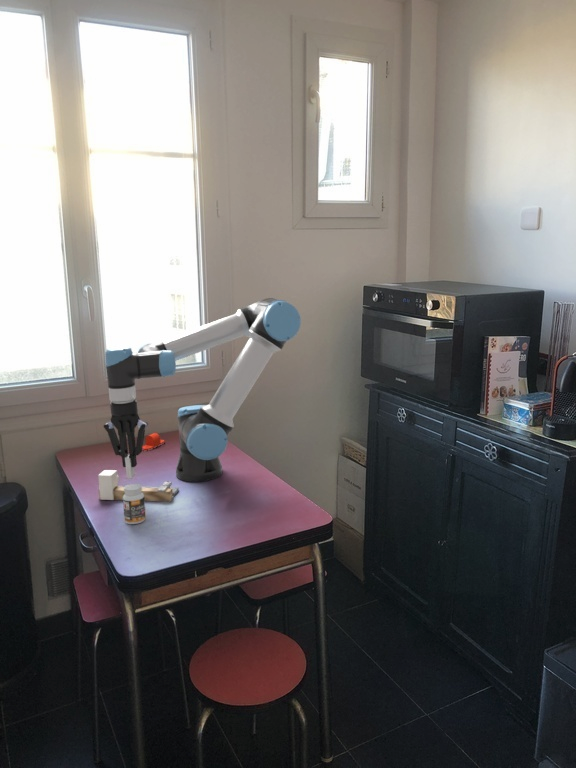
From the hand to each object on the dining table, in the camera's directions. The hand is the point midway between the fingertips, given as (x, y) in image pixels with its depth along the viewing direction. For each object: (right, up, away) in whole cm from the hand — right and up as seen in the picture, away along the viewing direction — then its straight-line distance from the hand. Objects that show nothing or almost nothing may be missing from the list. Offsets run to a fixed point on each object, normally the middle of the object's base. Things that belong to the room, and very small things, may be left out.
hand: (131, 476), depth 186 cm
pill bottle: (+5, -10, -14) cm, 18 cm away
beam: (+1, -7, +1) cm, 7 cm away
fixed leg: (+10, -5, +2) cm, 11 cm away
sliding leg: (-7, -6, +4) cm, 10 cm away
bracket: (-4, +4, +51) cm, 51 cm away
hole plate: (+2, -6, +6) cm, 8 cm away
